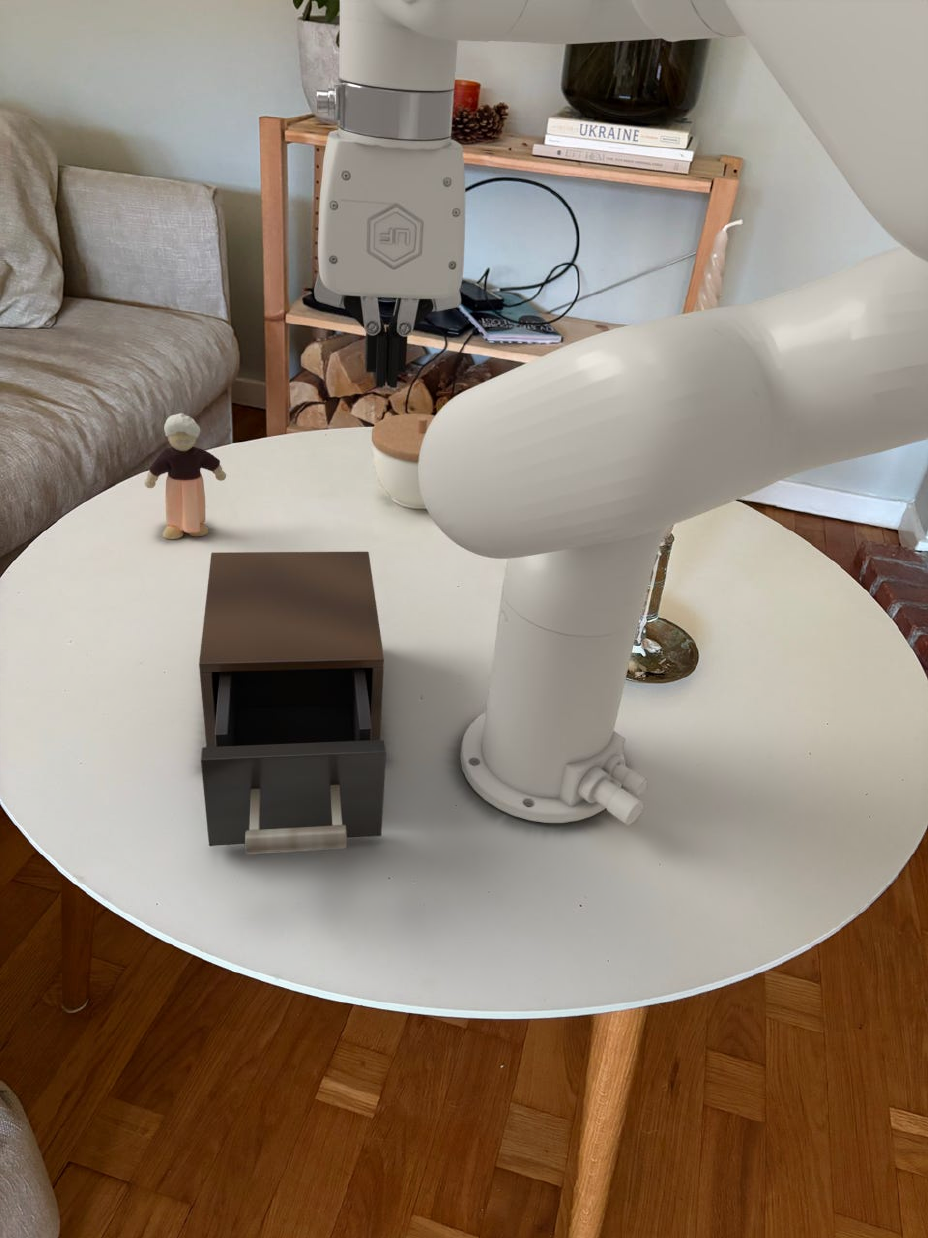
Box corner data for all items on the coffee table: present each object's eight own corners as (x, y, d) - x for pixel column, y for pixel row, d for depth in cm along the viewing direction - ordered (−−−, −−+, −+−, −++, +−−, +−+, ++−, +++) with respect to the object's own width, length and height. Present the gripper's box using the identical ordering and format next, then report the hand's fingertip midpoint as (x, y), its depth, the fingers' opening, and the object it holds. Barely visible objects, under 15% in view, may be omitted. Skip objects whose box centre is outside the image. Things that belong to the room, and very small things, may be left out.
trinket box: (360, 477, 110) (362, 400, 105) (449, 472, 114) (455, 397, 108) (381, 523, 102) (385, 442, 97) (476, 516, 105) (485, 436, 100)
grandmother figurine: (159, 547, 94) (146, 427, 87) (147, 529, 97) (134, 411, 90) (234, 532, 98) (227, 416, 91) (221, 515, 101) (213, 401, 93)
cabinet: (379, 759, 73) (384, 658, 67) (208, 766, 70) (198, 663, 65) (365, 644, 84) (368, 551, 79) (218, 648, 82) (211, 552, 77)
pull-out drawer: (388, 894, 61) (393, 808, 57) (204, 907, 59) (194, 819, 55) (366, 707, 76) (369, 627, 72) (219, 713, 74) (212, 631, 70)
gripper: (280, 115, 59) (286, 398, 69) (516, 132, 62) (488, 402, 72) (280, 98, 65) (285, 361, 75) (495, 115, 68) (472, 366, 78)
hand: (384, 380), depth 74 cm, fingers closed
